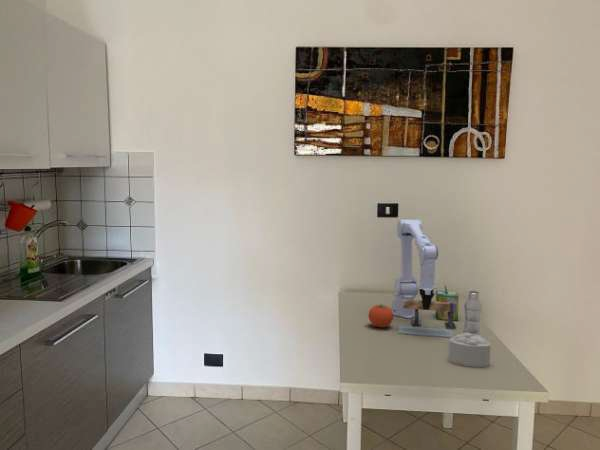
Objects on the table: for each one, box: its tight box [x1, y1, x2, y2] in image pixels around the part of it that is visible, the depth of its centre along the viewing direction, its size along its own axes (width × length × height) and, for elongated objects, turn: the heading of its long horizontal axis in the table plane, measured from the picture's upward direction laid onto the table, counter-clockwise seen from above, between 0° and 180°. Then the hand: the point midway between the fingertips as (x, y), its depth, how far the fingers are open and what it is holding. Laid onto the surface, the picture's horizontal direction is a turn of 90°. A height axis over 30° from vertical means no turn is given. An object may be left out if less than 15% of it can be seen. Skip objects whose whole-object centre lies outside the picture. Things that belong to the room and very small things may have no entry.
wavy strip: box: [403, 299, 450, 312], centre depth 194 cm, size 18×3×3 cm, turn 78°
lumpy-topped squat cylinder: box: [447, 332, 491, 368], centre depth 165 cm, size 10×13×9 cm
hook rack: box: [410, 309, 457, 330], centre depth 204 cm, size 18×6×6 cm, turn 78°
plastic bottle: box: [462, 290, 483, 336], centre depth 182 cm, size 6×7×20 cm
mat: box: [397, 325, 454, 339], centre depth 195 cm, size 21×9×1 cm, turn 78°
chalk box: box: [434, 284, 459, 322], centre depth 216 cm, size 9×9×15 cm
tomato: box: [368, 304, 394, 328], centre depth 201 cm, size 10×10×10 cm
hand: (425, 308), depth 194 cm, fingers closed on wavy strip, 3 cm apart
